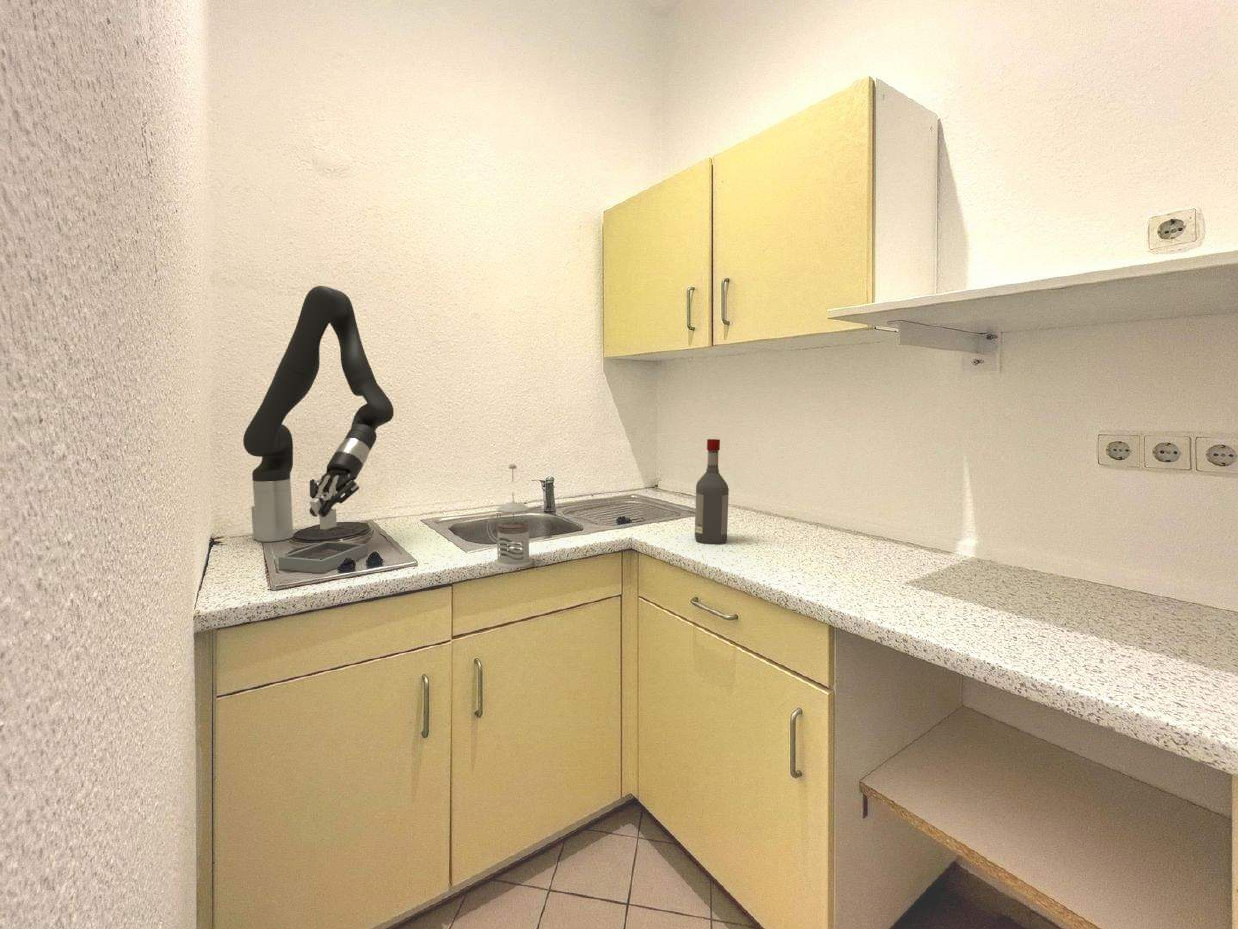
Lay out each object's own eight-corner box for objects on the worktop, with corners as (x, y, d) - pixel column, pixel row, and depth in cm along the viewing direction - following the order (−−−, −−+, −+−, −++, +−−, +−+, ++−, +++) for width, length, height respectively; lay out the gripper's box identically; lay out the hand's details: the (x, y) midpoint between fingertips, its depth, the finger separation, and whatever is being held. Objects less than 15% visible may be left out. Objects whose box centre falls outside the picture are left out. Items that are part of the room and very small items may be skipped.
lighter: (331, 525, 143) (329, 494, 142) (337, 525, 142) (335, 494, 141) (310, 531, 136) (308, 499, 135) (316, 532, 135) (315, 499, 134)
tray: (279, 569, 133) (278, 557, 133) (327, 552, 149) (327, 541, 148) (322, 573, 131) (322, 561, 130) (367, 555, 146) (367, 544, 146)
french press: (525, 569, 136) (524, 466, 133) (480, 565, 138) (478, 465, 136) (538, 558, 146) (538, 462, 143) (496, 555, 148) (495, 460, 145)
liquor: (724, 537, 171) (728, 438, 168) (727, 544, 162) (731, 440, 159) (694, 536, 172) (697, 438, 168) (695, 543, 163) (698, 440, 159)
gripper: (318, 449, 145) (283, 505, 135) (364, 450, 143) (333, 507, 132) (333, 467, 151) (301, 522, 141) (379, 469, 148) (349, 524, 138)
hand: (317, 514), depth 136 cm, fingers closed on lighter, 2 cm apart
